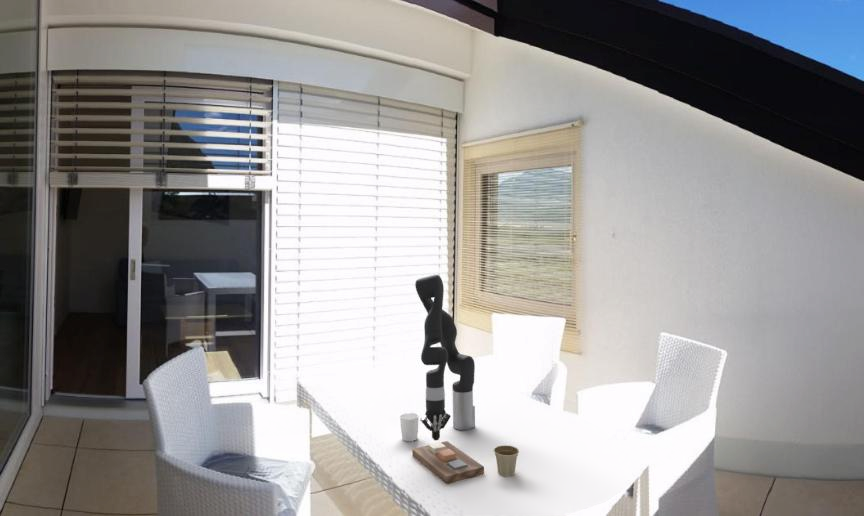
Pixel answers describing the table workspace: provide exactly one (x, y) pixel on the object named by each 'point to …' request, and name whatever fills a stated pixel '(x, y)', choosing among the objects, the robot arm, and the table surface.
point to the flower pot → (506, 459)
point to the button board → (442, 467)
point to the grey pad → (457, 464)
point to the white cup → (409, 426)
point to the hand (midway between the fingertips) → (435, 439)
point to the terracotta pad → (446, 455)
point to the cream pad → (436, 447)
